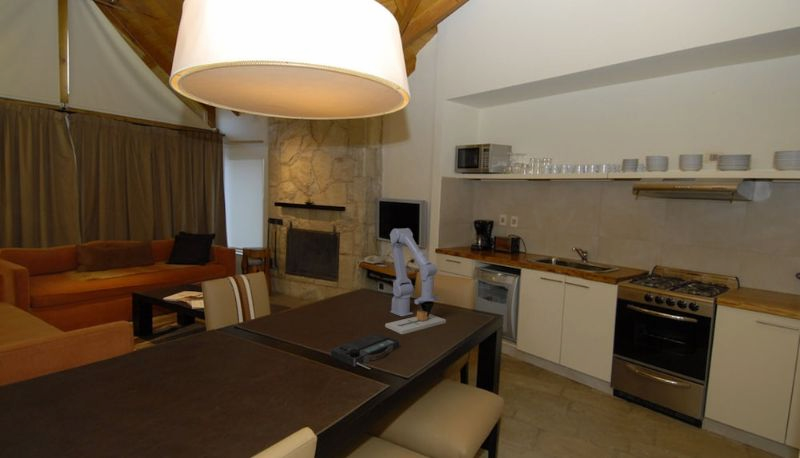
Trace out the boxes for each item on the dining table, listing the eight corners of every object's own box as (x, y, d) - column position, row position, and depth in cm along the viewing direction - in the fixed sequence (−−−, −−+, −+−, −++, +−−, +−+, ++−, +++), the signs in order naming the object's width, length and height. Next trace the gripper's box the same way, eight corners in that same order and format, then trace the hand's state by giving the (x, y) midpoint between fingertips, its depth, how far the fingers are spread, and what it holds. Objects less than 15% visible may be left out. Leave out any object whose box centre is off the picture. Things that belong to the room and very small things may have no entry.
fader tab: (416, 318, 194) (417, 310, 194) (421, 317, 196) (421, 309, 196) (422, 320, 191) (422, 312, 191) (427, 319, 193) (427, 311, 193)
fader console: (385, 326, 187) (385, 323, 187) (428, 316, 205) (428, 313, 205) (402, 334, 178) (402, 330, 178) (445, 322, 196) (445, 319, 196)
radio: (376, 330, 171) (413, 342, 158) (376, 339, 171) (412, 353, 159) (330, 346, 152) (368, 361, 139) (330, 357, 152) (367, 373, 139)
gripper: (422, 292, 186) (421, 321, 188) (443, 288, 196) (442, 315, 197) (412, 289, 192) (411, 317, 193) (433, 285, 201) (432, 312, 202)
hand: (426, 316), depth 195 cm, fingers closed
